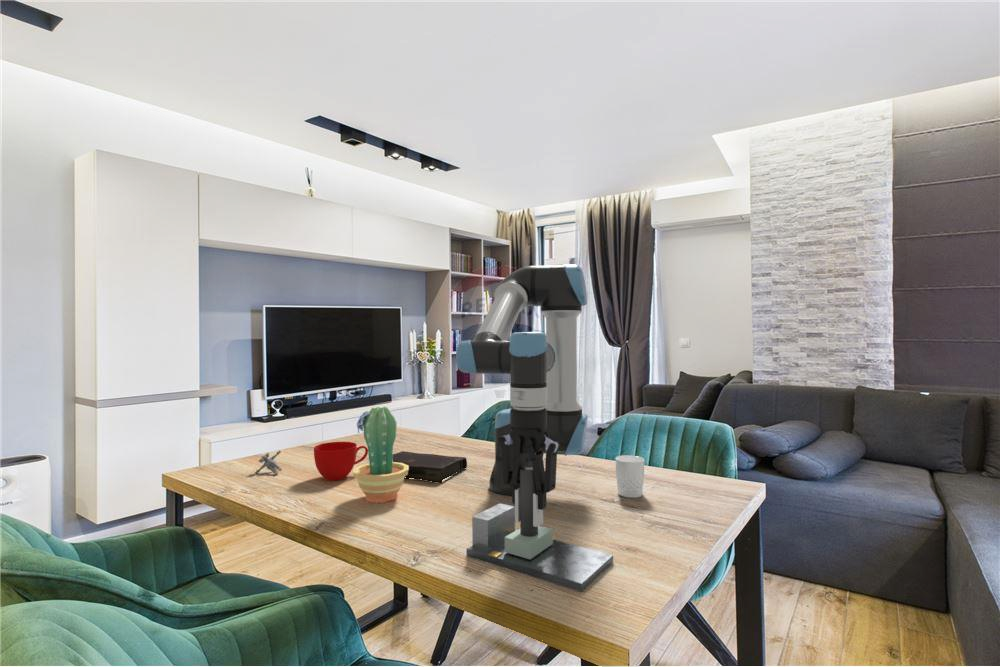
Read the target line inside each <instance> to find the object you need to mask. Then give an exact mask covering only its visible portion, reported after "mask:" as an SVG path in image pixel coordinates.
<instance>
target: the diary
mask: <svg viewBox="0 0 1000 667" xmlns="http://www.w3.org/2000/svg"><path fill="white" fill-rule="evenodd" d="M393 462H398V463H403V464H406V465H408V466H409V470H408V475H406V476H405V477H406V479H405V480H409V478H414V479H422V480H427V481H432V482H431V483H434V482H438V483H437V484H443V483H442V480H443V479H445V478H447V477H449V476H451V475H452V474H454V473H455V474H457V473H459V472H460V471H459V470H461V469H462V468H466V469H467V468H468V460H467V457H463V456H450V455H449V456H448V455H440V454H433V453H421V452H420V453H417V452H410V451H404V450H401V451H399V452H397V453H396V452H395V453H393ZM462 470H463V469H462ZM458 471H459V472H458ZM456 472H457V473H456ZM455 474H454V475H455ZM427 481H426V482H427Z"/></svg>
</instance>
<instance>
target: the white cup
mask: <svg viewBox="0 0 1000 667" xmlns="http://www.w3.org/2000/svg"><path fill="white" fill-rule="evenodd" d="M615 474H616V475H615V476H616V477H615V478H616V484H617V486H616V487H617V495H619V496H621V497H624V498H631V499H632V498H634V499H635V498H640V497H643V492H644V491H643V490H644V489H643V488H644V476H645V458H643V457H642V456H638V455H630V454H627V455H624V454H623V455H618V456H616V457H615Z"/></svg>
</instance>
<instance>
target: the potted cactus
mask: <svg viewBox="0 0 1000 667" xmlns="http://www.w3.org/2000/svg"><path fill="white" fill-rule="evenodd" d="M356 428H357V434H360V431H361V432H363V438H364V440H365V443H366V446H367V449H368V454H367V456H368V462H369V463H364V464H361V465H358V466H356V467H353V470H352V474H353V478H355V479H356V481H357V484H358V485H359V488H360V490H361V491H362V492H363V494H364V495H365V499H364V500H365V501H367V502H368V501H369V503H375V502H376V503H378V502H380V503H388V502H392V501H394V500H396V499H397V497H399V495H398V492H399V491H400V490H401V488H402V486H403V483H404V481H405V479H404V478H405V476H406V475H408V470H409V466H408V465H406V464H403V463H398V462H393V454H394V444H395V442H396V441H395V440H396V437H397V420H396V418H395V416H394V415H393V413H392V412H391V410H390V409H389V408H388V407H387V406H383V407H381V406H376V407H372V408H371V409H370V410H368V411H364V412H362V414H361V415H360V416H359V418H358V420H357V422H356ZM395 498H396V499H395ZM391 500H392V501H391ZM387 501H388V502H387ZM376 503H375V504H376ZM378 504H379V503H378Z"/></svg>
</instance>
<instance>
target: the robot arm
mask: <svg viewBox="0 0 1000 667" xmlns="http://www.w3.org/2000/svg"><path fill="white" fill-rule="evenodd" d="M587 295H588V294H587V287H586V281H585V275H584V272H583V269H582V267H581V266H580V265H577V264H565V263H564V264H549V265H527V266H523V267H520V268H519V269H516V270H515V271H513V272H511V273H510V274H508V275H507V276H506V277H505V278H503V279H502V280H501V281H500V282H499V283H498V285H497V287H496V288H495V291H494V295H493V298H494V300H493V303H492V304H491V306H490V308H489V310H488V311H487V314H486V316H485V317H484V318H483V321H482V322H481V325H480V326H479V329H478V330H477V333H476V335H475V336H474V338H473V340H471V339H468V340H462V341H460V342H459V343H458V344H457V347H456V351H455V361H456V366H457V368H458V370H459V371H460V372H461V373H466V374H475V375H477V374H479V375H481V374H484V375H485V374H488V375H489V374H498V375H499V374H503V375H509V383H510V384H509V396H510V397H509V400H510V401H509V403H510V406H511V408H505V409H502V410H500V411H498V412H497V413H496V415H495V419H494V420H495V422H494V449H495V450H494V451H495V452H494V454H495V455H494V457H495V458H494V460H495V461H494V465H493V468H492V470H491V474H490V477H489V483H488V484H489V489H490V490H491V491H492V492H494V493H496V494H501V495H507V496H511V501H512V504H513V505H514V507H515V523H520V469H521V468H525V467H532V468H533V473H534V479H535V485H536V492H535V493H533V526H535V527H537V526H541V525H542V524H544V509H546V507H547V493H549V492H552V491H554V490H555V489H556V486H557V485H556V484H557V483H556V482H557V480H556V479H557V463H558V462H557V461H558V459H557V458H558V455H559V456H560V455H563V456H566V457H567V456H578V455H580V454H581V453H583V450H584V446H585V442H586V435H587V429H588V415H587V414H586V413H583V407H582V405H580V403H579V402H578V401H577V400H578V399H577V398H578V395H577V394H578V391H577V389H578V388H577V382H578V381H577V380H578V378H577V318H578V317H579V316H580V314H581V313H582V311H583V310H582V307H585V306H586V305H587V304H588V297H587ZM526 307H540V313H541V314H542V316H544V317H545V328H546V329H545V330H546V333H544V332H542V331H521V332H519V331H518V332H517V331H516V332H512V330H513V328H514V326H515V324H516V321H517V319H518V317H519V314H520V312H522V311H523V310H525V308H526ZM508 339H509V340H508ZM544 454H545V464H544Z"/></svg>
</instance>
